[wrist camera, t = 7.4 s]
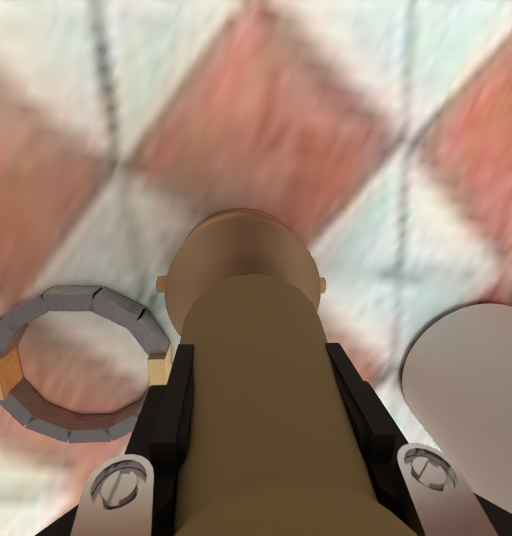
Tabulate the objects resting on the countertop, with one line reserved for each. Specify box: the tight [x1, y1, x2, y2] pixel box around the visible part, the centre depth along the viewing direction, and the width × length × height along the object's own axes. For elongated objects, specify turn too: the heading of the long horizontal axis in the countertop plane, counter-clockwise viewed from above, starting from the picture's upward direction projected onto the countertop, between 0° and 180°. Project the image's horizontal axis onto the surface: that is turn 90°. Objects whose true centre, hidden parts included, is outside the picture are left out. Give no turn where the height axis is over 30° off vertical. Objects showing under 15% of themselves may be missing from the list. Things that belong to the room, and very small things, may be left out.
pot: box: [156, 208, 326, 336], centre depth 20 cm, size 11×9×5 cm
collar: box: [0, 286, 172, 443], centre depth 23 cm, size 12×12×2 cm
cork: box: [172, 274, 418, 536], centre depth 8 cm, size 6×6×11 cm
